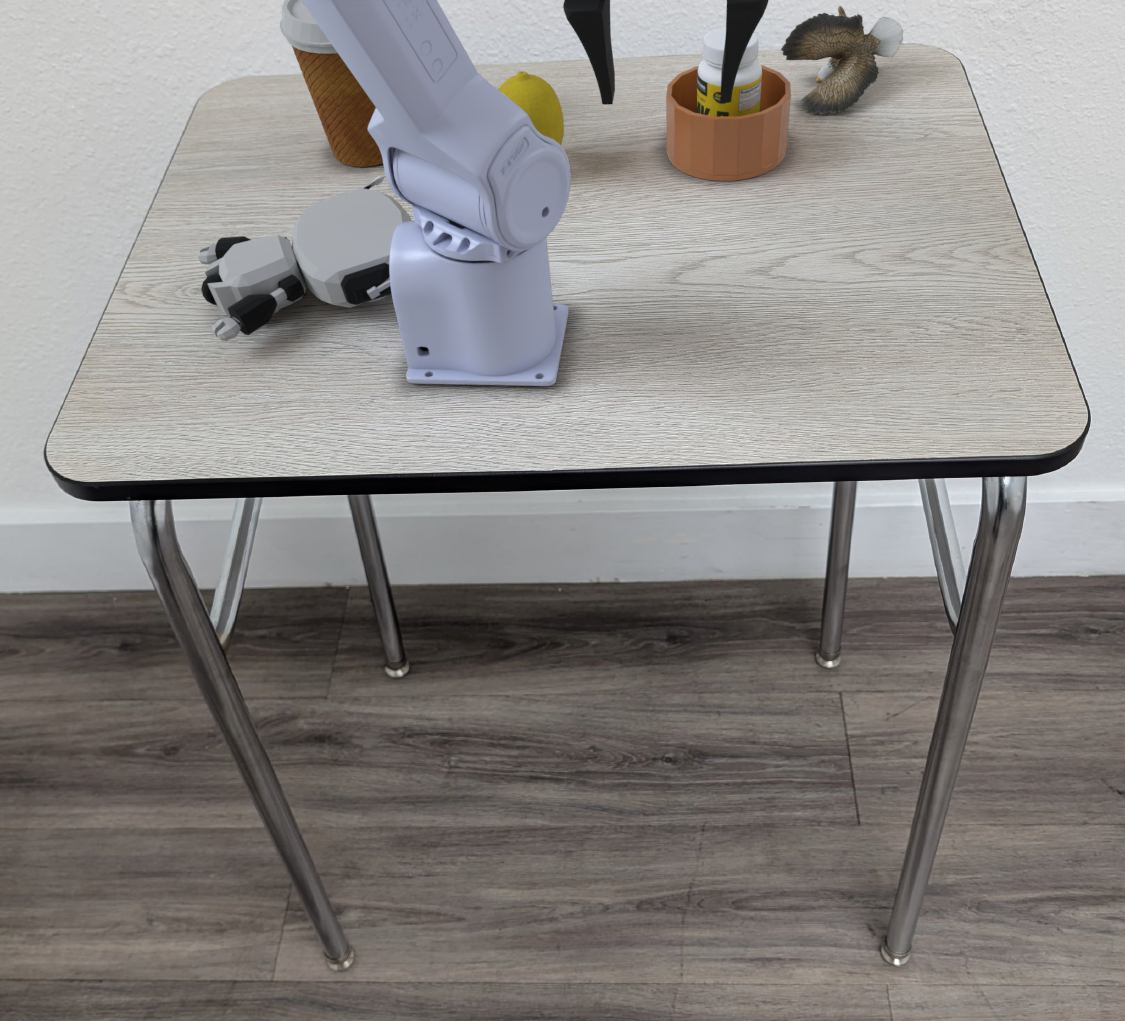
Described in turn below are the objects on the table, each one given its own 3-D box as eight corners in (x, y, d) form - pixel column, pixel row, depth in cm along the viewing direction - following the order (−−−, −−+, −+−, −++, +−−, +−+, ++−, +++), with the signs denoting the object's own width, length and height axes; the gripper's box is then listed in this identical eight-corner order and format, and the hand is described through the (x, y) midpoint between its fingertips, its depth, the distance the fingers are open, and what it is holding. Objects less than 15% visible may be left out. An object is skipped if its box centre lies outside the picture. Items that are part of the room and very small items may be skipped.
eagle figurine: (809, 43, 96) (758, 65, 90) (864, -24, 90) (815, -5, 84) (867, 108, 95) (820, 135, 90) (926, 45, 90) (881, 69, 84)
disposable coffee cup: (293, 171, 89) (252, 22, 81) (345, 115, 95) (311, -29, 87) (400, 183, 87) (369, 30, 78) (446, 125, 93) (422, -23, 84)
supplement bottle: (683, 145, 87) (684, 38, 81) (727, 123, 88) (730, 17, 82) (726, 166, 84) (730, 58, 78) (770, 144, 86) (777, 36, 80)
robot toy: (228, 379, 73) (444, 308, 74) (202, 325, 69) (429, 252, 71) (208, 280, 81) (403, 218, 83) (183, 227, 77) (387, 164, 79)
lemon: (533, 147, 89) (523, 49, 83) (581, 168, 86) (575, 68, 80) (482, 175, 87) (468, 76, 81) (531, 198, 84) (520, 97, 78)
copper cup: (664, 181, 84) (663, 119, 80) (670, 122, 90) (669, 62, 87) (787, 181, 83) (792, 118, 79) (784, 121, 89) (789, 60, 85)
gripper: (793, -162, 64) (778, 66, 74) (547, -150, 66) (564, 70, 76) (797, -121, 60) (780, 117, 69) (532, -110, 62) (551, 120, 71)
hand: (666, 96), depth 72 cm, fingers open, 7 cm apart
